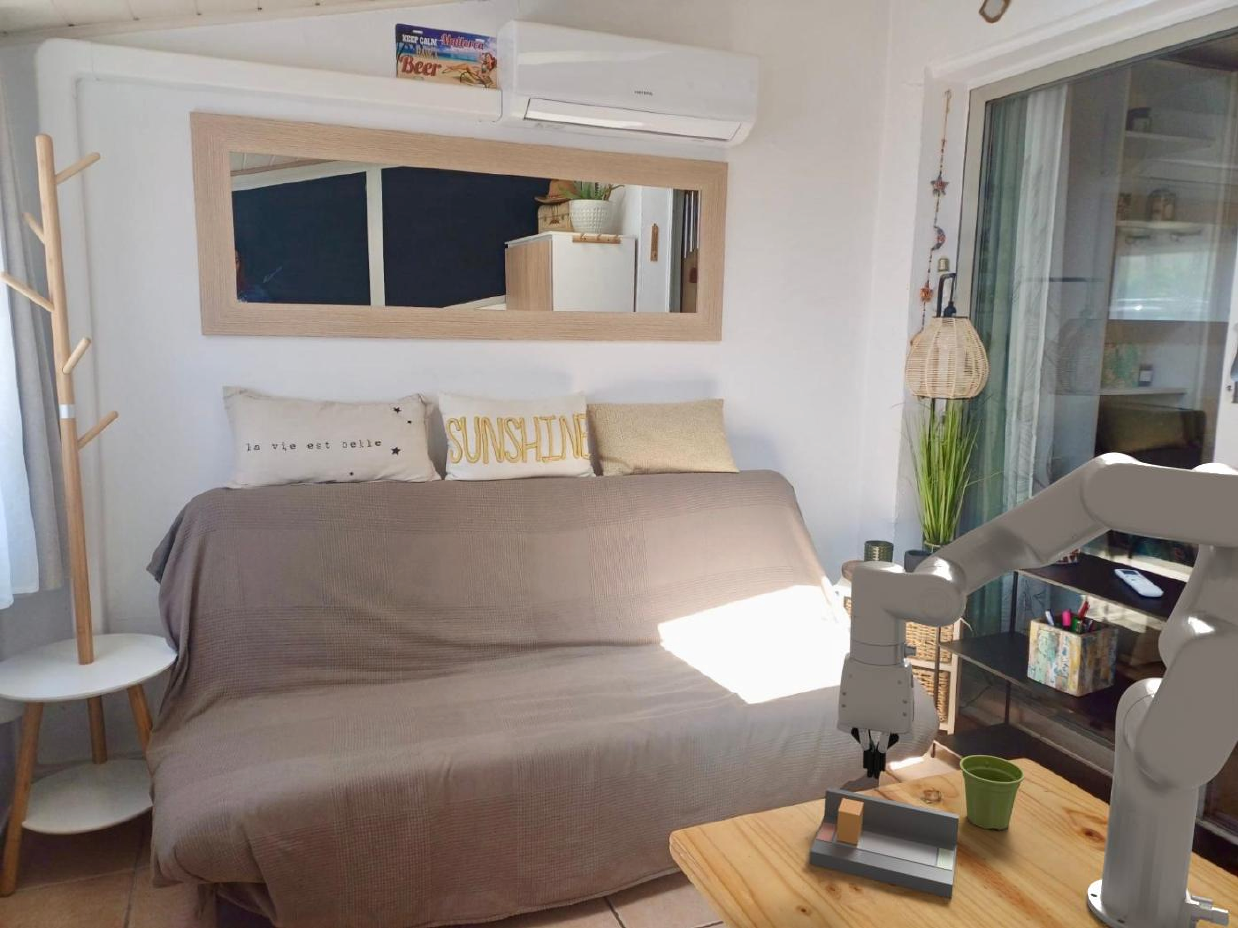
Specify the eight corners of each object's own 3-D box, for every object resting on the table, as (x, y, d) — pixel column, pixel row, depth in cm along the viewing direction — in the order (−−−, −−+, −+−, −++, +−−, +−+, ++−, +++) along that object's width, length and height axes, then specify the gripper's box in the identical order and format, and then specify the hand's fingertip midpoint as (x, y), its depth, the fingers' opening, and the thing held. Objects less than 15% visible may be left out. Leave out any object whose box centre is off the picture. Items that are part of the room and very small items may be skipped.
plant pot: (944, 818, 144) (948, 766, 142) (972, 799, 150) (977, 748, 149) (1002, 843, 137) (1007, 789, 136) (1030, 822, 143) (1035, 770, 142)
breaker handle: (861, 830, 135) (863, 802, 134) (857, 844, 131) (859, 815, 131) (841, 826, 136) (842, 797, 135) (836, 839, 132) (838, 810, 132)
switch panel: (956, 852, 134) (959, 814, 133) (951, 898, 123) (954, 856, 122) (824, 823, 141) (827, 786, 140) (809, 863, 130) (811, 824, 129)
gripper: (935, 648, 129) (931, 771, 132) (828, 636, 135) (826, 755, 137) (931, 665, 123) (926, 795, 125) (818, 652, 128) (816, 776, 131)
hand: (874, 773), depth 131 cm, fingers closed
